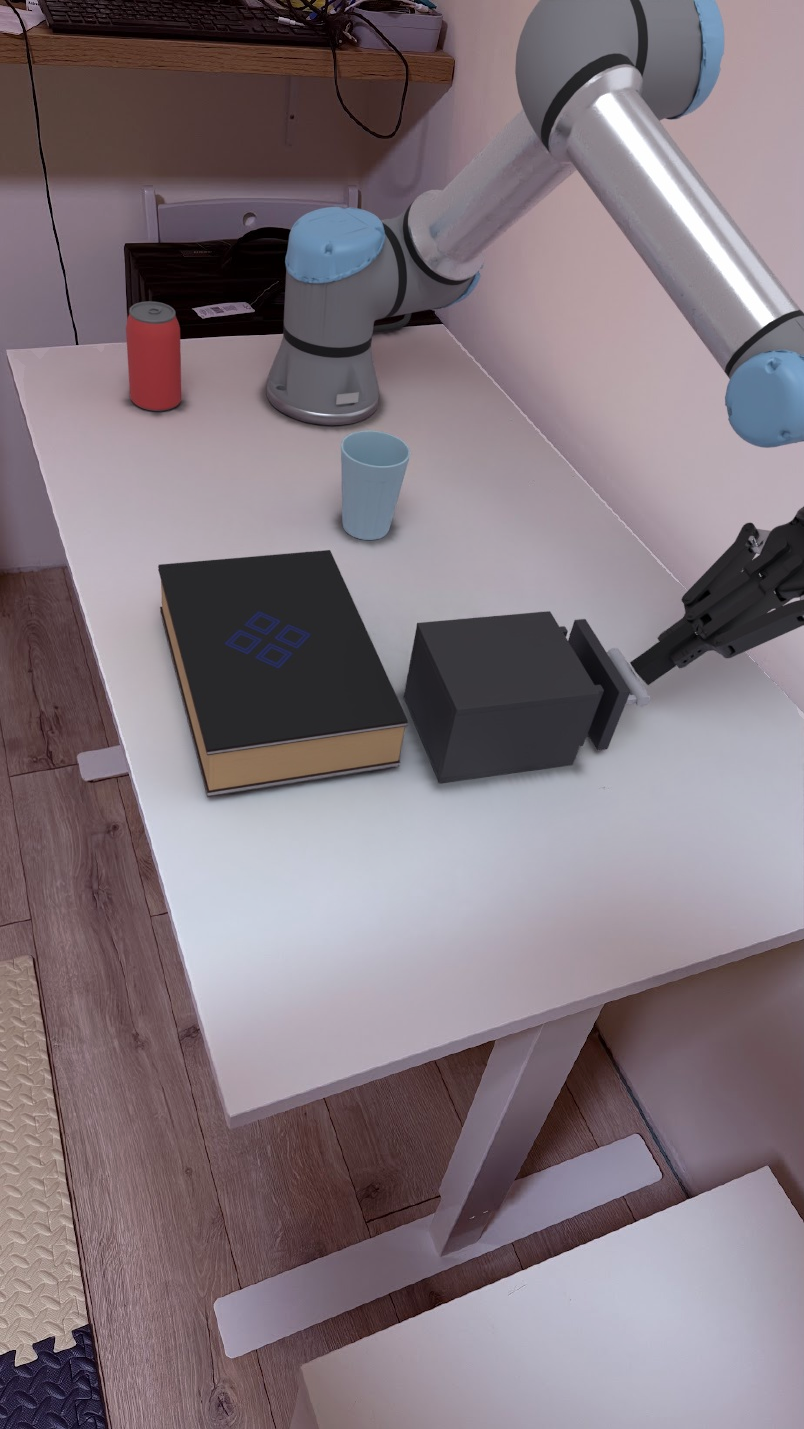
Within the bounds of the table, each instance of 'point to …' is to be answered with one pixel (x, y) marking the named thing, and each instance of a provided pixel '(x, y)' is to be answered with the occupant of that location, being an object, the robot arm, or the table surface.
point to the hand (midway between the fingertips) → (639, 674)
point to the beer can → (154, 356)
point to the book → (277, 672)
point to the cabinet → (497, 695)
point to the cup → (371, 481)
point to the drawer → (605, 683)
